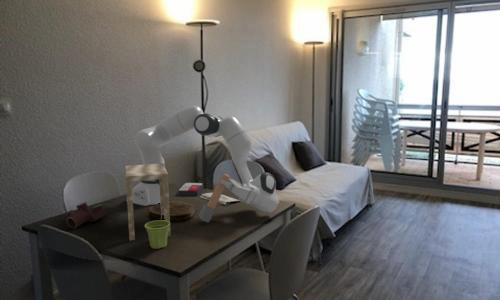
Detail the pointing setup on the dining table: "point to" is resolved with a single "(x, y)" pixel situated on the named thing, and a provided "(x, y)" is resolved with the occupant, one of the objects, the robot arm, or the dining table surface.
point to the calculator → (190, 189)
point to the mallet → (213, 200)
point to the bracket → (84, 215)
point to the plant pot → (157, 233)
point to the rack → (147, 174)
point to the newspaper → (222, 199)
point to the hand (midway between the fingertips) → (220, 179)
